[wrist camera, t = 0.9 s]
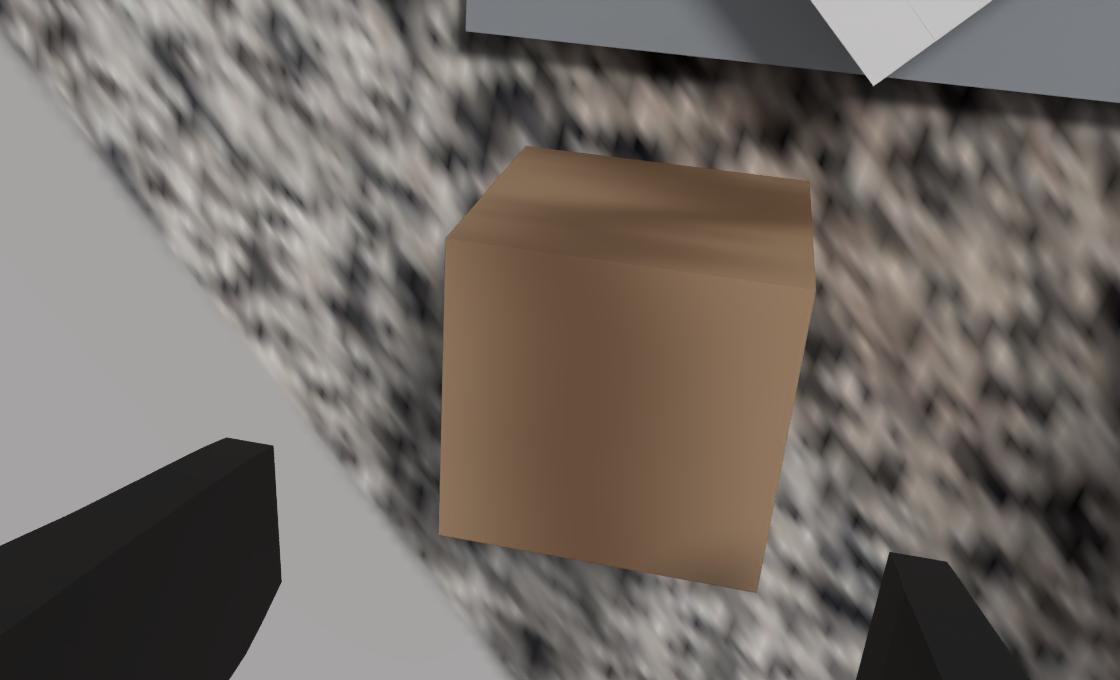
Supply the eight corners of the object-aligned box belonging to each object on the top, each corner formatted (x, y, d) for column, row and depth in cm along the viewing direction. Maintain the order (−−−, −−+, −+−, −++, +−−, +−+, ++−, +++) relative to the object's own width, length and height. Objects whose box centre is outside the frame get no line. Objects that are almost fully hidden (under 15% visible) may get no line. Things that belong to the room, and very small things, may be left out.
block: (809, 179, 18) (816, 289, 14) (763, 428, 20) (756, 592, 16) (527, 145, 19) (445, 237, 14) (513, 388, 21) (438, 534, 16)
